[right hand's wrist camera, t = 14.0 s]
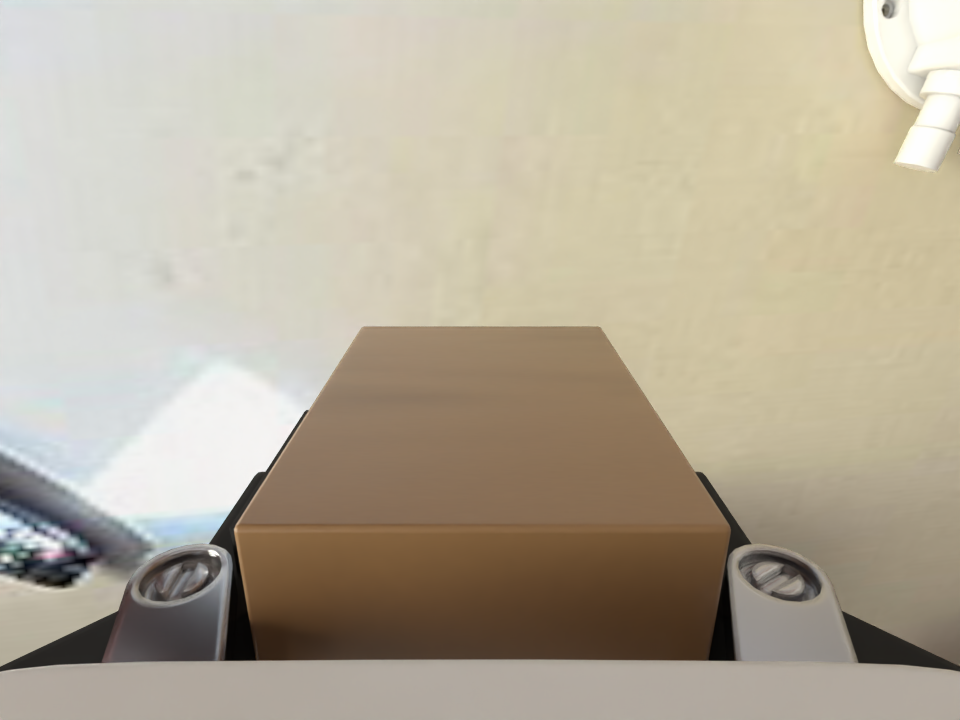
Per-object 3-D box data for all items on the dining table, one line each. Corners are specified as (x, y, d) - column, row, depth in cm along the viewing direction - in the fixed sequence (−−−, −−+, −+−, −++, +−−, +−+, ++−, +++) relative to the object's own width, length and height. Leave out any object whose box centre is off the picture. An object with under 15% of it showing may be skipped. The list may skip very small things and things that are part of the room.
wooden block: (586, 529, 15) (676, 858, 8) (376, 529, 15) (287, 858, 8) (600, 325, 13) (734, 527, 6) (361, 325, 13) (230, 527, 6)
